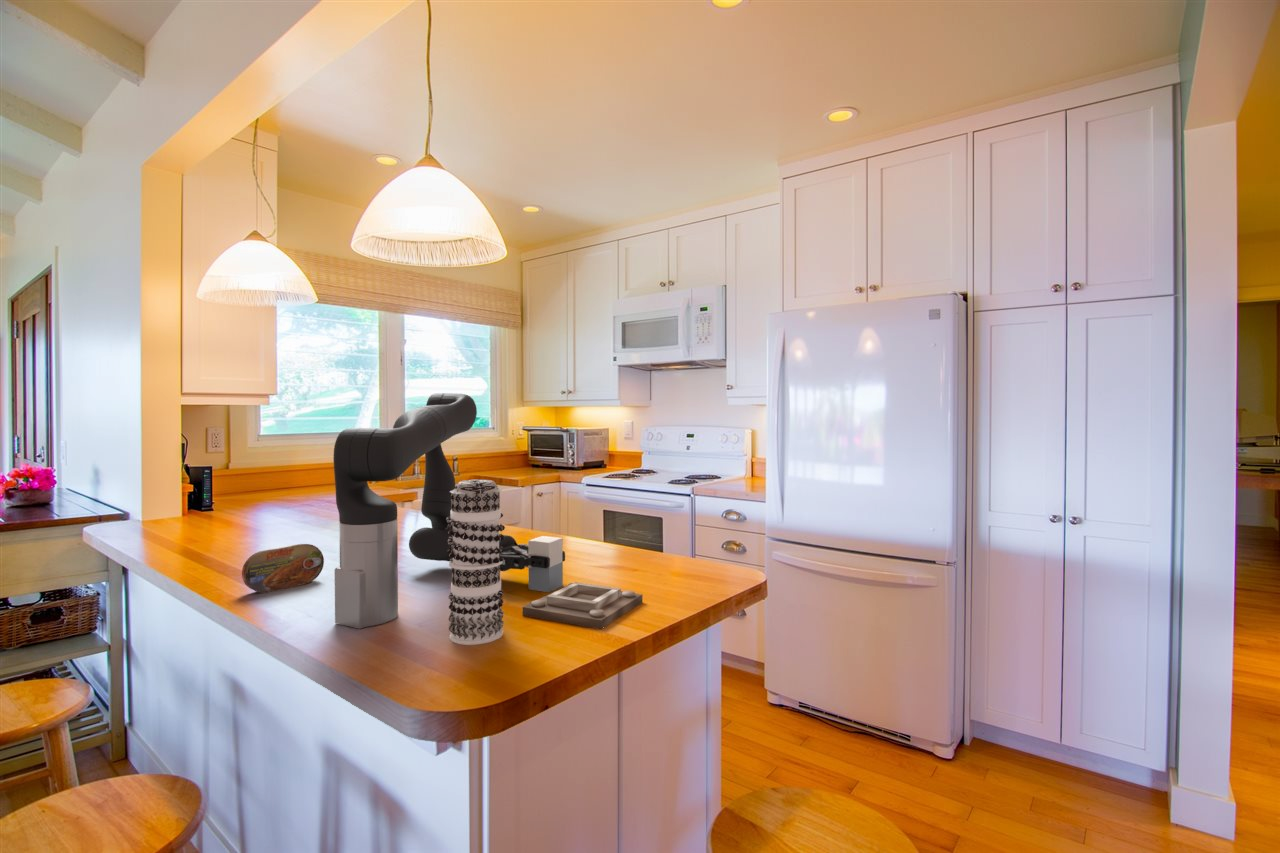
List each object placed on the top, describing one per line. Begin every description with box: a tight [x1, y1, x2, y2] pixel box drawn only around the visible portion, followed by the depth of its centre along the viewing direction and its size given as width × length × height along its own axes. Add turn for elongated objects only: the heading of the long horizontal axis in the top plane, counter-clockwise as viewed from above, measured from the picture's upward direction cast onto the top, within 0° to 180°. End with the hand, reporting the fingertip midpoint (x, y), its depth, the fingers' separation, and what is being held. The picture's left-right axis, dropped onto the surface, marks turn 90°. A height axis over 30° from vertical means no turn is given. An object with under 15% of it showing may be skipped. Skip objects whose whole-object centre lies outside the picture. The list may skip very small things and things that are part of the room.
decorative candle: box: [446, 479, 506, 646], centre depth 97 cm, size 9×9×25 cm
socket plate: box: [522, 581, 643, 630], centre depth 111 cm, size 16×16×3 cm
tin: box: [241, 543, 325, 594], centre depth 125 cm, size 15×3×8 cm, turn 143°
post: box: [527, 535, 564, 593], centre depth 124 cm, size 5×5×10 cm
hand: (556, 559), depth 123 cm, fingers closed on post, 5 cm apart
